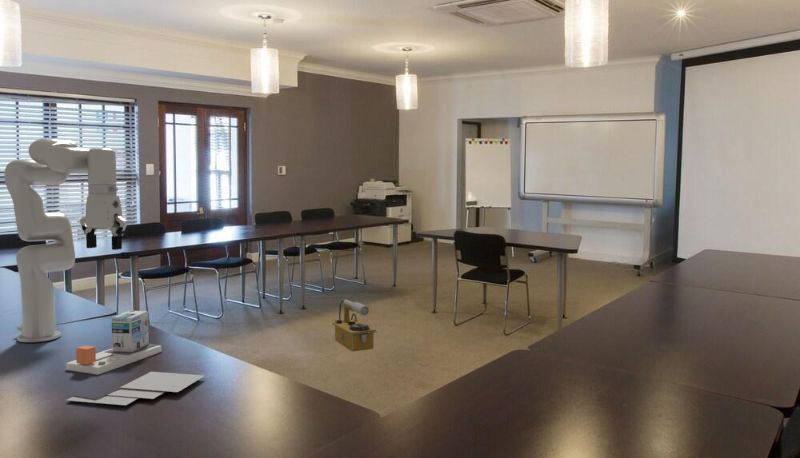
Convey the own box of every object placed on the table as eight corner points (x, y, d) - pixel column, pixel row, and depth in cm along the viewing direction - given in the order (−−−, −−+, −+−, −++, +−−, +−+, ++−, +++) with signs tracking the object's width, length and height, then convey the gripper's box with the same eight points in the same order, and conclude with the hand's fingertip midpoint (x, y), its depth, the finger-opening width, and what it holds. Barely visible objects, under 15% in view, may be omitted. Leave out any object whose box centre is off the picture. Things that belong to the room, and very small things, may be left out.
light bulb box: (132, 352, 185) (131, 317, 184) (111, 352, 185) (110, 317, 185) (149, 343, 196) (149, 310, 195) (129, 343, 196) (129, 310, 195)
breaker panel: (66, 369, 175) (65, 360, 175) (132, 348, 198) (131, 340, 198) (98, 374, 171) (97, 365, 170) (161, 351, 194) (161, 343, 194)
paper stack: (156, 408, 147) (156, 405, 147) (65, 400, 151) (65, 397, 151) (205, 377, 170) (205, 375, 170) (125, 372, 174) (124, 369, 174)
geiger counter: (352, 353, 194) (352, 307, 193) (323, 335, 217) (323, 294, 216) (377, 350, 198) (377, 304, 197) (346, 332, 221) (347, 292, 220)
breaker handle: (76, 363, 173) (76, 347, 173) (85, 360, 176) (84, 345, 176) (87, 364, 172) (86, 349, 172) (95, 361, 175) (95, 346, 174)
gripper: (135, 191, 179) (136, 248, 180) (90, 190, 185) (92, 246, 186) (115, 191, 172) (116, 251, 173) (69, 190, 178) (71, 248, 179)
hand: (104, 248), depth 180 cm, fingers open, 9 cm apart
